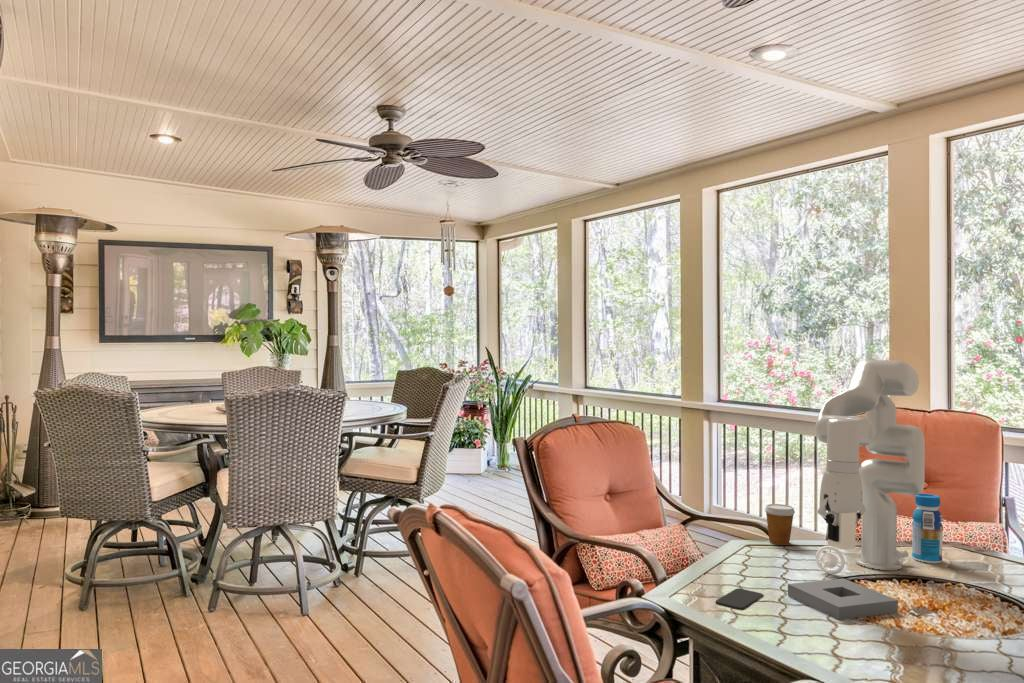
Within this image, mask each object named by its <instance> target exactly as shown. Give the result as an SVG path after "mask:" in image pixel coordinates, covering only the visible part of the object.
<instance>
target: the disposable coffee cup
mask: <svg viewBox="0 0 1024 683" xmlns="http://www.w3.org/2000/svg"><path fill="white" fill-rule="evenodd" d="M764 511H765V514H766V522H767V531H768V540H769V541H770V542H769V543H771V542H772V543H771V544H773V545H780V546H785V545H786V546H787V545H789V544H790V542H789V541H791V540H790V539H791V536H792V535H791V534H792V526H793V521H794V515H795V513H796V511H795V508H794V507H793V506H792V505H789V504H788V505H787V504H780V503H769V504H766V505H765V508H764Z"/></svg>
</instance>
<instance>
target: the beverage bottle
mask: <svg viewBox="0 0 1024 683" xmlns="http://www.w3.org/2000/svg"><path fill="white" fill-rule="evenodd" d="M914 498H915V499H914V500H915V501H914V502H915V506H917V507H916V508H915V509H914V511H913V512H912V519H913V520H912V522H911V527H912V531H911V532H912V534H911V535H912V538H911V539H912V543H911V544H912V545H911V547H912V548H911V552H912V553H911V556H912V559H913V560H914V561H917V560H918V561H917V562H920V561H921V563H924V562H927V564H940V563H942V561H943V532H944V525H943V523H942V522H943V520H944V518H943V515H942V513H941V511H940V510H939V508H941V497H940V495H936V494H932V493H931V494H930V493H920V494H919V495H914Z"/></svg>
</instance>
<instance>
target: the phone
mask: <svg viewBox="0 0 1024 683" xmlns="http://www.w3.org/2000/svg"><path fill="white" fill-rule="evenodd" d="M761 598H764V594H763V593H761V592H757V591H753V590H749V589H744V588H735V589H733V590H731V591H729V592H728V593H726V594H725V595H723V596H721V597H719V598H718V599H716V600H715V604H716V605H718V606H723V607H727V608H731V609H733V610H734V609H735V610H739V611H743V610H746V608H748V607H750V606H751V605H753V604H754V603H755V602H757V601H758V600H760V599H761Z"/></svg>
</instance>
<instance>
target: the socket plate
mask: <svg viewBox="0 0 1024 683" xmlns="http://www.w3.org/2000/svg"><path fill="white" fill-rule="evenodd" d="M787 596H788V597H790V598H792V599H794V600H796V601H799V602H800V603H802V604H805V605H806V606H809V607H810V608H811V607H812V608H813V609H816V610H817V611H820V612H821V613H824V614H825V615H828V616H830V617H832V618H834V619H836V620H838V621H839V620H847V619H855V618H863V617H871V616H879V615H887V614H886V613H889V614H896V613H897V614H898V613H899V600H898V599H897V598H893V597H891V596H889V595H886V594H884V593H881V592H878V591H876V590H873V589H871V588H868V587H866V586H863V585H861V584H859V583H856V582H853V581H852V580H848V579H846V578H836V579H835V578H833V579H826V580H825V579H824V580H814V581H805V582H804V581H803V582H795V583H794V582H793V583H787Z"/></svg>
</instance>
